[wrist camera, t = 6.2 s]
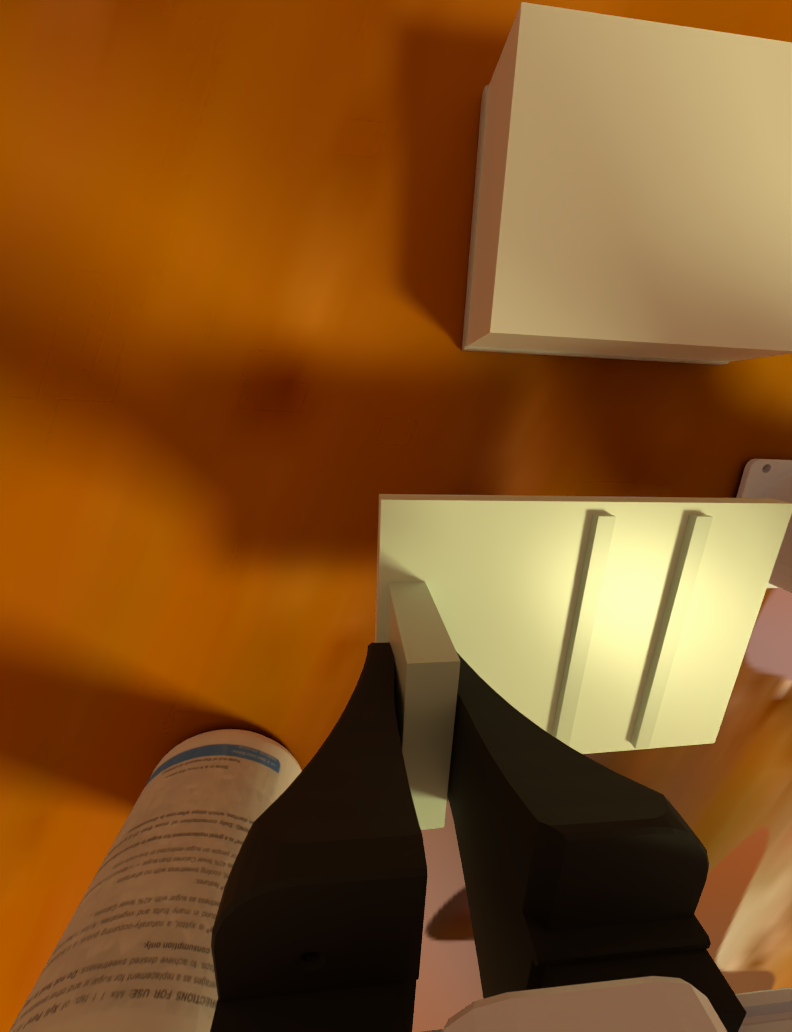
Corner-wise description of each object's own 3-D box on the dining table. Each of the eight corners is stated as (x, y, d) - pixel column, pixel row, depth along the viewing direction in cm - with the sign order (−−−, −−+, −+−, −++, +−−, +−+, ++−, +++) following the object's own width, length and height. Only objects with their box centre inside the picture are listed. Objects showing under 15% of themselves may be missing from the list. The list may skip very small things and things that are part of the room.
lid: (770, 498, 14) (976, 543, 9) (697, 727, 17) (829, 848, 12) (379, 493, 12) (398, 546, 7) (371, 752, 15) (382, 906, 10)
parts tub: (778, 130, 18) (894, 52, 14) (719, 364, 20) (803, 354, 17) (481, 93, 16) (519, -5, 12) (461, 350, 19) (487, 335, 15)
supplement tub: (124, 772, 24) (-213, 1289, 10) (243, 694, 23) (61, 1132, 9) (227, 855, 27) (78, 1357, 13) (337, 787, 26) (310, 1240, 12)
